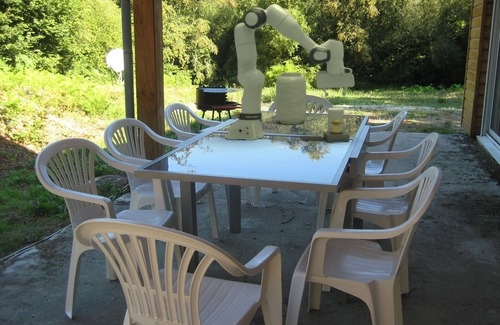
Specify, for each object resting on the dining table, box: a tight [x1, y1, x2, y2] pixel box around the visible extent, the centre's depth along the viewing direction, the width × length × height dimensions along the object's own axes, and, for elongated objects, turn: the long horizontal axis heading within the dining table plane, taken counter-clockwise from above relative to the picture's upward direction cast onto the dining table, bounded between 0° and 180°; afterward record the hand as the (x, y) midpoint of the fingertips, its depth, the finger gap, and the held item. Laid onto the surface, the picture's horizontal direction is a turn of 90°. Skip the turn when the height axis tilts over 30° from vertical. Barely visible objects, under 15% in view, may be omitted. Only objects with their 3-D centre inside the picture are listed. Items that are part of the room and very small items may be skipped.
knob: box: [331, 119, 342, 134], centre depth 273 cm, size 6×6×11 cm
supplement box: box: [327, 107, 345, 131], centre depth 293 cm, size 9×9×15 cm
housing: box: [322, 130, 350, 143], centre depth 273 cm, size 12×12×4 cm
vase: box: [275, 71, 307, 125], centre depth 334 cm, size 20×20×34 cm
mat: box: [300, 135, 325, 142], centre depth 279 cm, size 12×12×1 cm
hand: (335, 96), depth 269 cm, fingers open, 8 cm apart
